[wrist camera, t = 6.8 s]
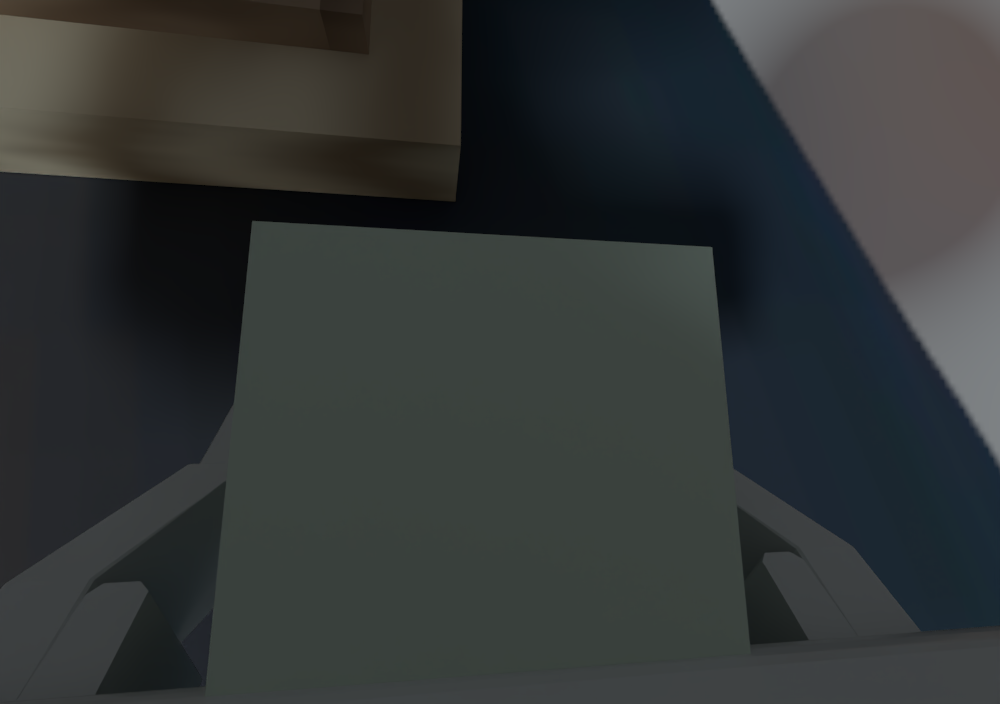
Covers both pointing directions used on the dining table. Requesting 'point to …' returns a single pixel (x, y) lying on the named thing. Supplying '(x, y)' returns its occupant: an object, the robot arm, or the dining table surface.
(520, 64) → the dining table surface
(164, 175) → the plinth
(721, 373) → the sage block
